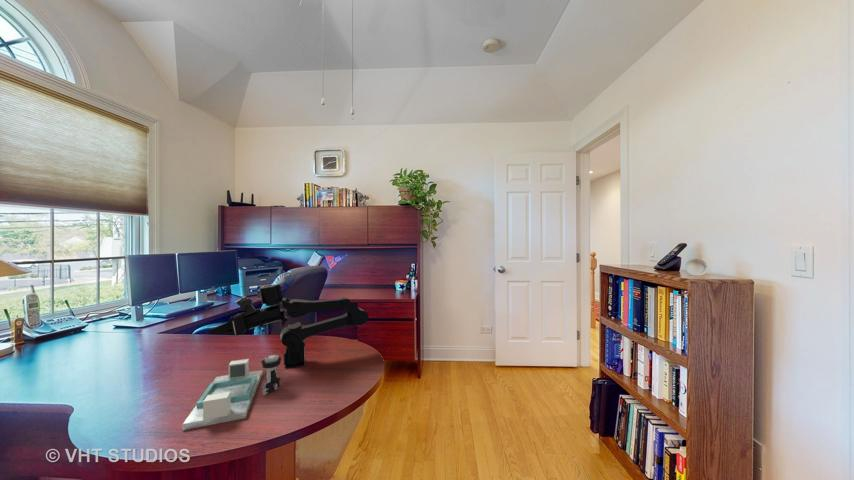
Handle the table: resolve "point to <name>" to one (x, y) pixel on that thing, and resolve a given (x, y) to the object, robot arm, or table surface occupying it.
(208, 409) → the white padded clamp jaws
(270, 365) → the push button
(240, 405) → the teal-edged white tray
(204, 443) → the table surface
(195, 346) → the table surface
